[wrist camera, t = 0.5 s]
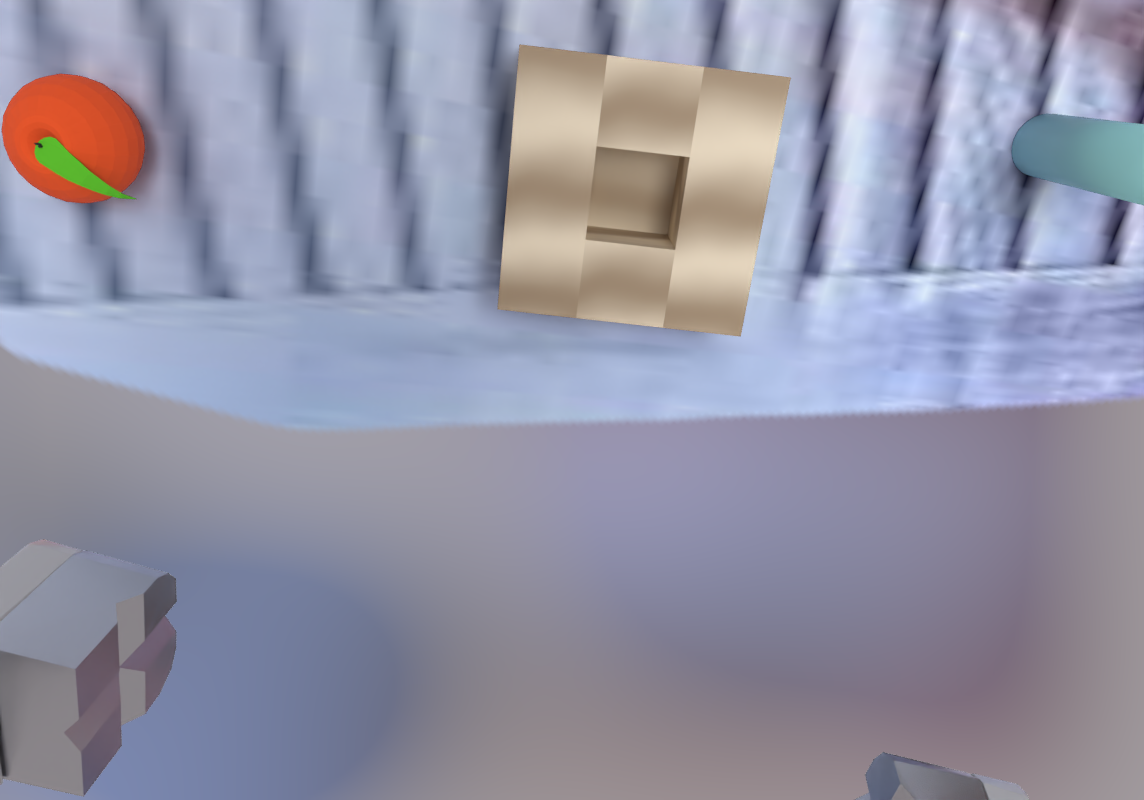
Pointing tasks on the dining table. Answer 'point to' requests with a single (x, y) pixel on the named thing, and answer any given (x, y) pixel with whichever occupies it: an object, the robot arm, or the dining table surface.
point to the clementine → (73, 138)
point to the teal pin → (1084, 154)
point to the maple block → (637, 189)
